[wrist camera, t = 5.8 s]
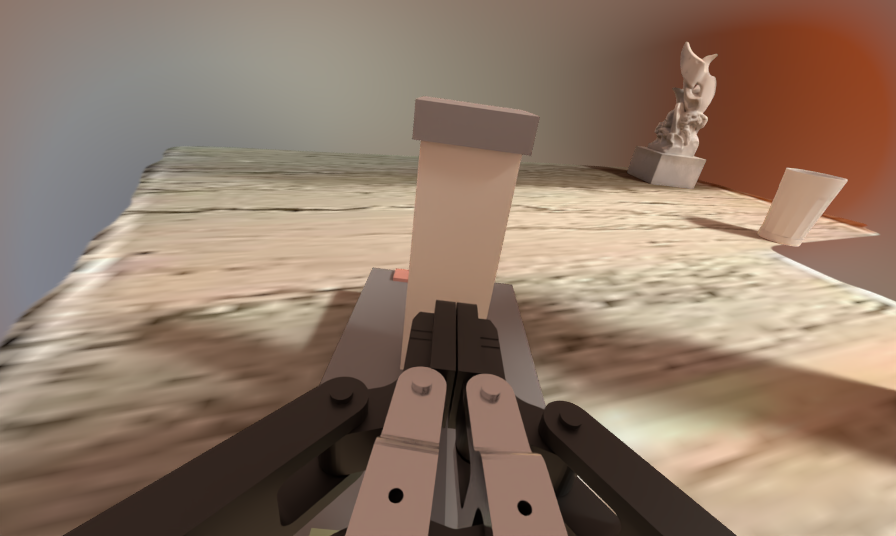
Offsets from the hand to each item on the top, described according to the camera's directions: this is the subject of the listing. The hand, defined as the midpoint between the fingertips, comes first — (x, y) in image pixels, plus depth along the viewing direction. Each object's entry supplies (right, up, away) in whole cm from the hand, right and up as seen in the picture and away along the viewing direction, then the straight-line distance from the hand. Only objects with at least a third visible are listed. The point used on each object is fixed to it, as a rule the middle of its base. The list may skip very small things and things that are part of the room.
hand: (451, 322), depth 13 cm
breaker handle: (-1, -3, +8) cm, 8 cm away
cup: (+60, +7, +54) cm, 81 cm away
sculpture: (+62, +28, +94) cm, 116 cm away
